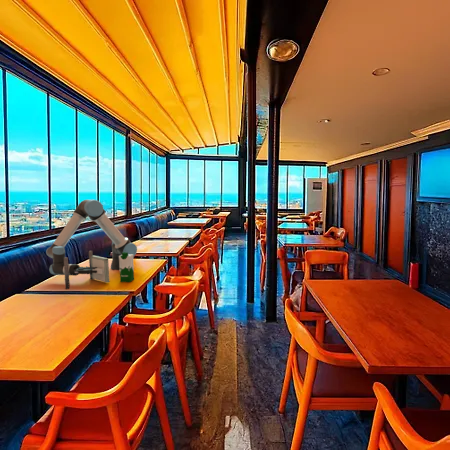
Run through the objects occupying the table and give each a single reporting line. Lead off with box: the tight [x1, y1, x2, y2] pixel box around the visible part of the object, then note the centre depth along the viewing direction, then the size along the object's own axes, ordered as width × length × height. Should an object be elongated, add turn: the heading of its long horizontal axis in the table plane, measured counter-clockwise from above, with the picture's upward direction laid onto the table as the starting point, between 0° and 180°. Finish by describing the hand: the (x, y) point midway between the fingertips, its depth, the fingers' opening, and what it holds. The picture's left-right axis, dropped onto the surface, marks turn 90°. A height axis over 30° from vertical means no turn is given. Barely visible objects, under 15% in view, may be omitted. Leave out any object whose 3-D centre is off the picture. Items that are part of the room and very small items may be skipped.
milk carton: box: [119, 252, 135, 283], centre depth 232 cm, size 9×9×20 cm
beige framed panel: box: [91, 255, 110, 283], centre depth 231 cm, size 19×2×16 cm, turn 49°
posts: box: [64, 250, 93, 290], centre depth 226 cm, size 27×2×20 cm, turn 166°
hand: (103, 271), depth 223 cm, fingers open, 2 cm apart
